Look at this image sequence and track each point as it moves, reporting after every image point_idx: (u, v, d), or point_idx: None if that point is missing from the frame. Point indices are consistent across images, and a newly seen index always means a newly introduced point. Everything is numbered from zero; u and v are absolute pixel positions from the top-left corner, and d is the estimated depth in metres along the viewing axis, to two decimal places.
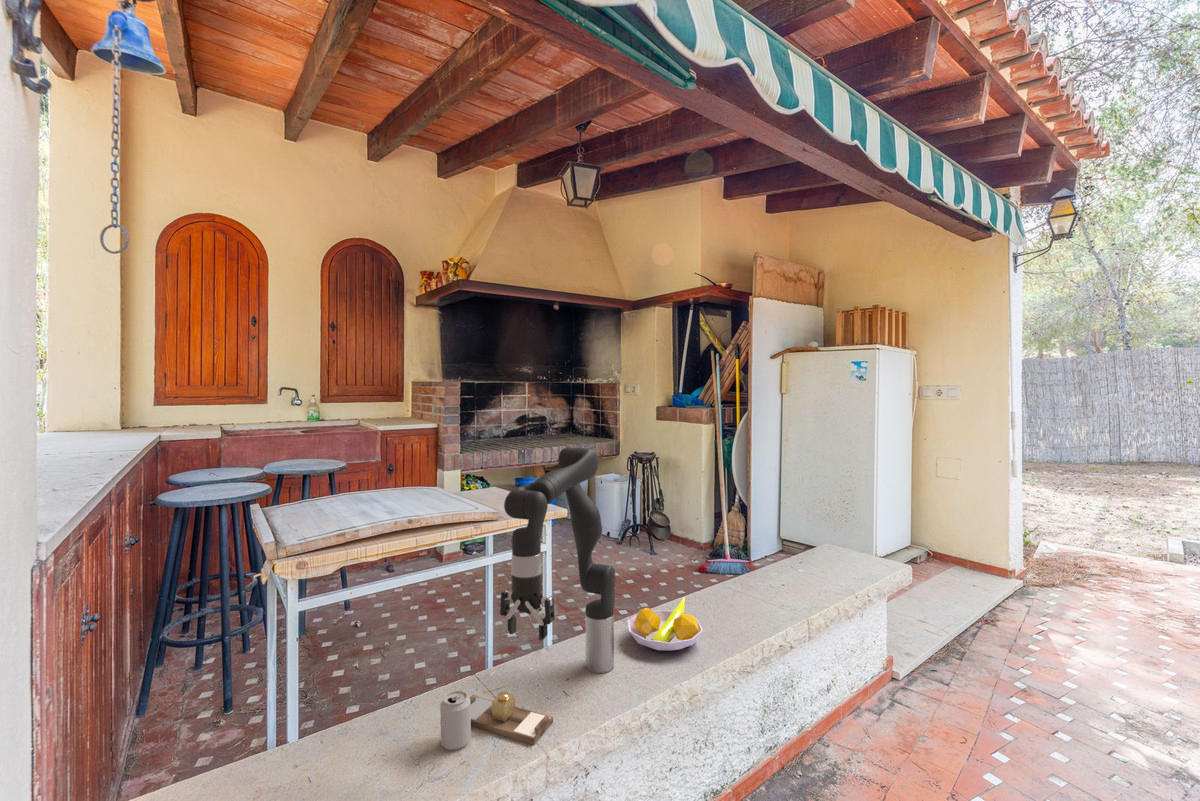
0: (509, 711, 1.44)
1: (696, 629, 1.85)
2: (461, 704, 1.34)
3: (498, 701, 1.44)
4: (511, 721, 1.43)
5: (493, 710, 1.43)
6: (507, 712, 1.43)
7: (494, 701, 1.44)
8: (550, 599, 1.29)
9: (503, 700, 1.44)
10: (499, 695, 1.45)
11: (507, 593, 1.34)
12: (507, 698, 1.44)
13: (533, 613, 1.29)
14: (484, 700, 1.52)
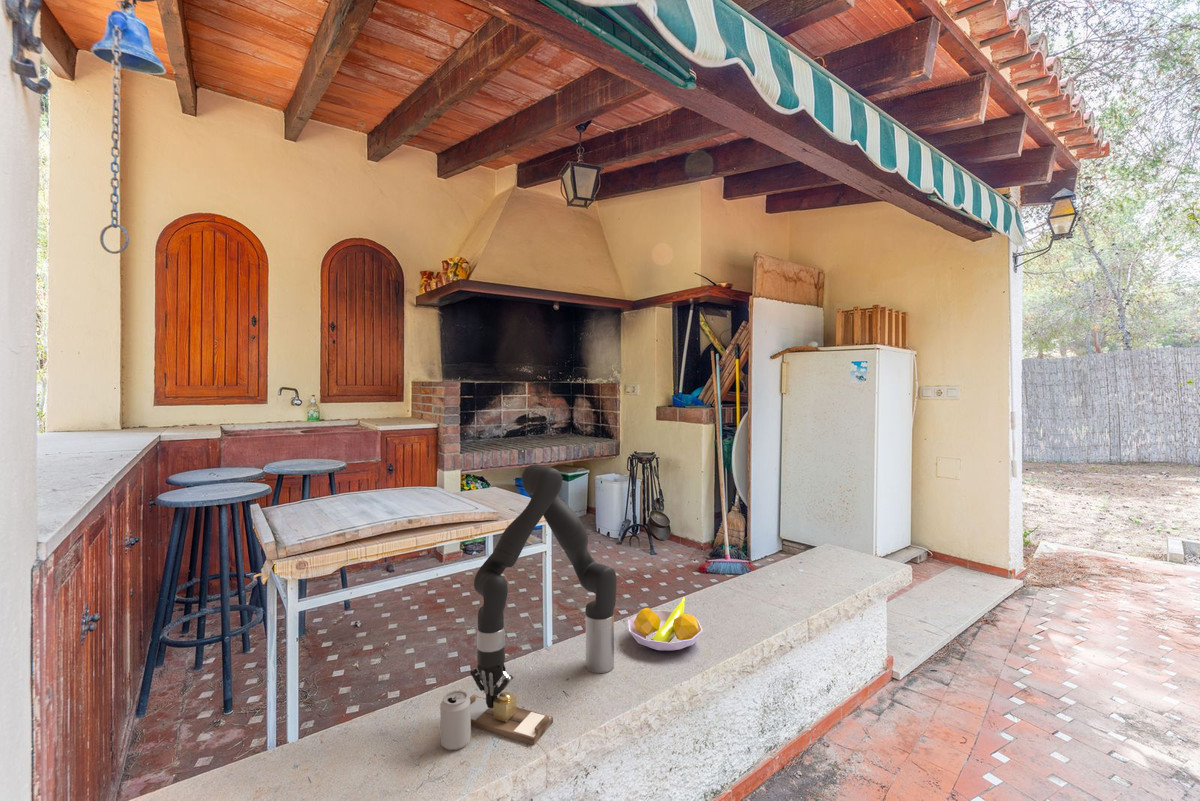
0: (511, 712, 1.44)
1: (696, 629, 1.85)
2: (461, 704, 1.34)
3: (500, 701, 1.43)
4: (511, 721, 1.43)
5: (495, 710, 1.43)
6: (508, 712, 1.43)
7: (496, 701, 1.43)
8: (510, 679, 1.44)
9: (505, 700, 1.43)
10: (501, 695, 1.44)
11: (475, 669, 1.48)
12: (509, 698, 1.44)
13: (490, 683, 1.45)
14: (484, 700, 1.52)
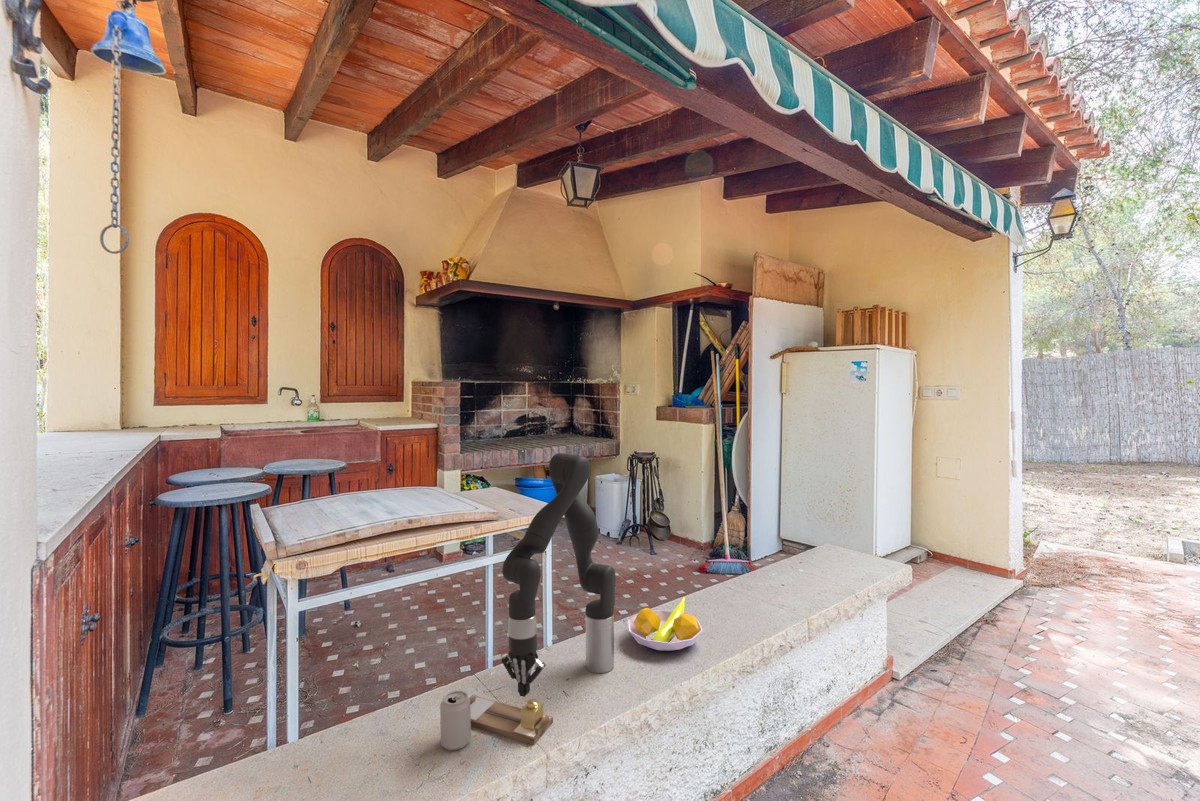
0: (538, 719, 1.41)
1: (696, 629, 1.85)
2: (461, 704, 1.34)
3: (527, 709, 1.40)
4: (511, 721, 1.43)
5: (522, 718, 1.40)
6: (536, 720, 1.40)
7: (523, 709, 1.40)
8: (543, 667, 1.40)
9: (532, 708, 1.40)
10: (528, 703, 1.41)
11: (506, 657, 1.44)
12: (536, 706, 1.41)
13: (523, 671, 1.41)
14: (484, 700, 1.52)
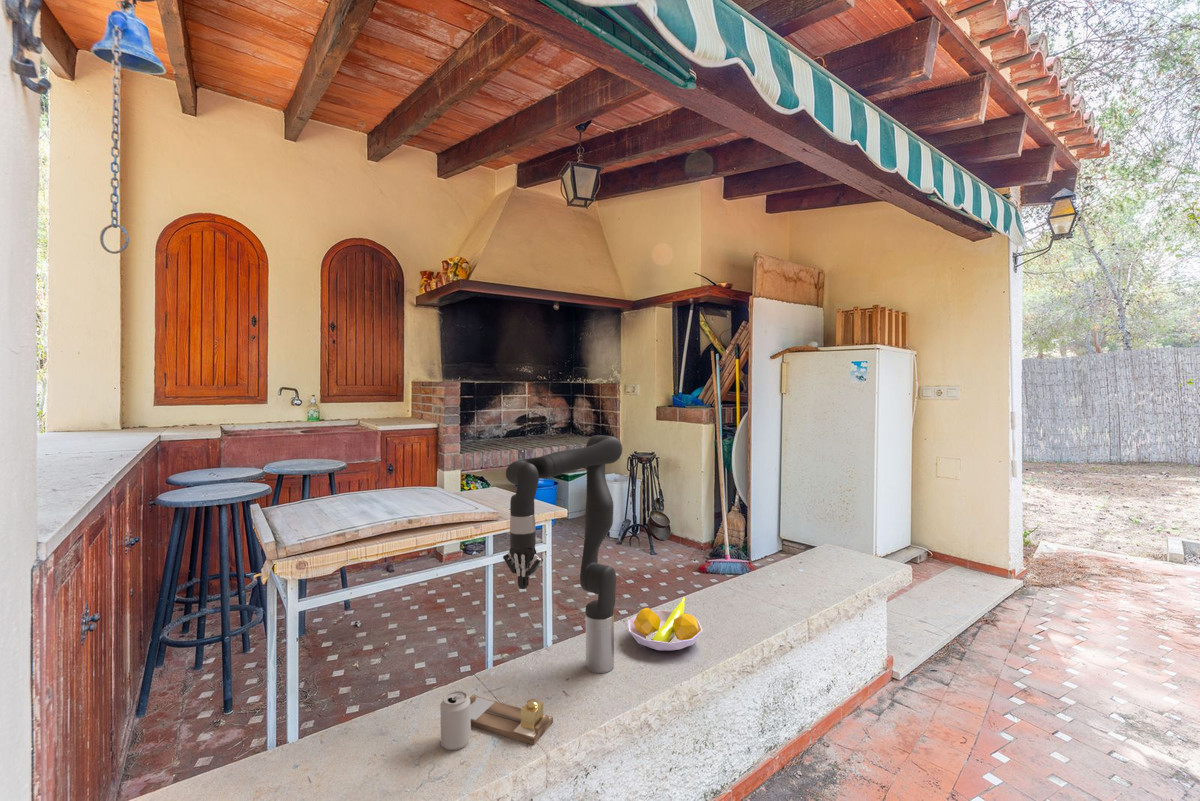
0: (538, 719, 1.41)
1: (696, 629, 1.85)
2: (461, 704, 1.34)
3: (527, 709, 1.40)
4: (511, 721, 1.43)
5: (522, 718, 1.40)
6: (536, 720, 1.40)
7: (523, 709, 1.40)
8: (541, 561, 1.54)
9: (532, 708, 1.40)
10: (528, 703, 1.41)
11: (507, 554, 1.59)
12: (536, 706, 1.41)
13: (522, 565, 1.55)
14: (484, 700, 1.52)
